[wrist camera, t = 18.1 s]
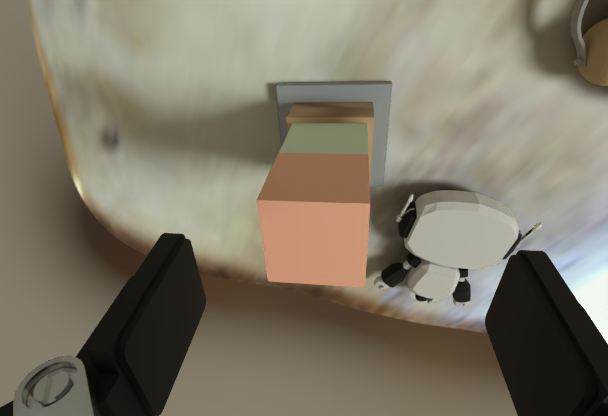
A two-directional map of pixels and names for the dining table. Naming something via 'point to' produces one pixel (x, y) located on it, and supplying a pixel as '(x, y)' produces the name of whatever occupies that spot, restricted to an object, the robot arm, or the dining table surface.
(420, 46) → the dining table surface
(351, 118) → the walnut block
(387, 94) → the build board
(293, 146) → the sage cube
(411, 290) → the robot toy
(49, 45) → the dining table surface
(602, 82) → the alarm clock
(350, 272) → the terracotta cube
